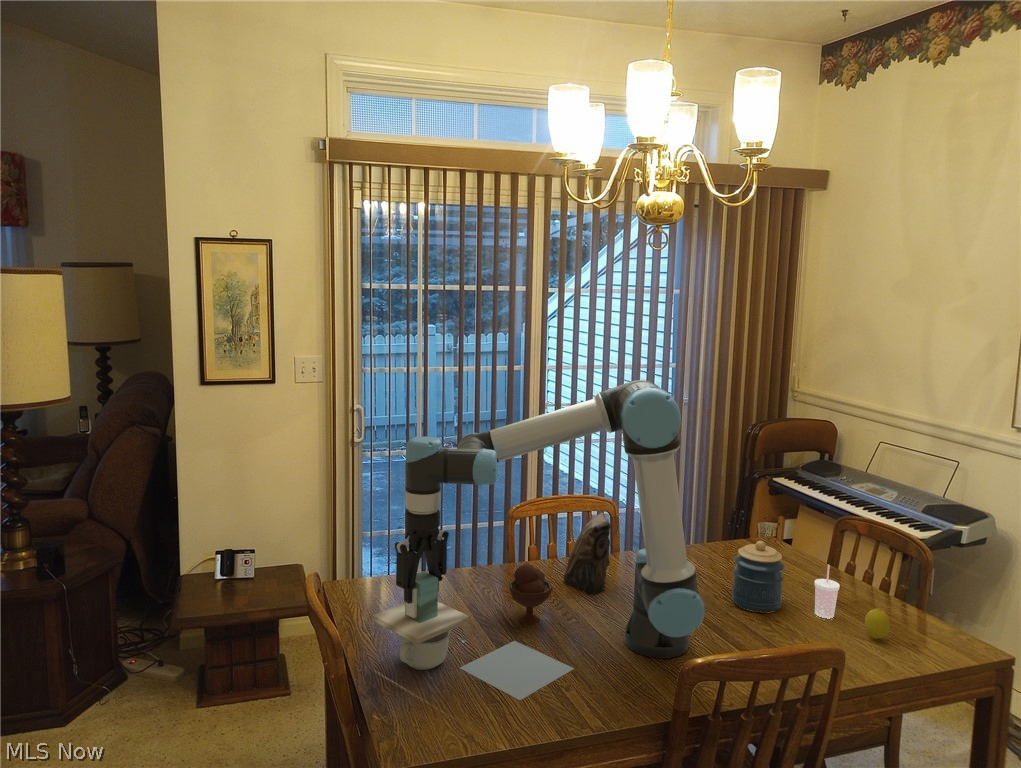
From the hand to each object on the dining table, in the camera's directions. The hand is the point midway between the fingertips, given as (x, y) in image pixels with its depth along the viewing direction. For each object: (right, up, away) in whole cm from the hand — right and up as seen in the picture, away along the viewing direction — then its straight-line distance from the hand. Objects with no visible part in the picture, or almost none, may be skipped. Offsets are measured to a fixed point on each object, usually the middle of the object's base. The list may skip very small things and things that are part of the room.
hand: (421, 611), depth 166 cm
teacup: (-1, -13, +2) cm, 13 cm away
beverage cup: (+102, -11, +33) cm, 108 cm away
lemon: (+109, -13, +20) cm, 112 cm away
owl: (+41, -7, +49) cm, 64 cm away
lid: (0, -2, 0) cm, 2 cm away
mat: (+21, -13, +1) cm, 25 cm away
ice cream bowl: (+24, -10, +25) cm, 37 cm away
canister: (+86, -10, +39) cm, 95 cm away
